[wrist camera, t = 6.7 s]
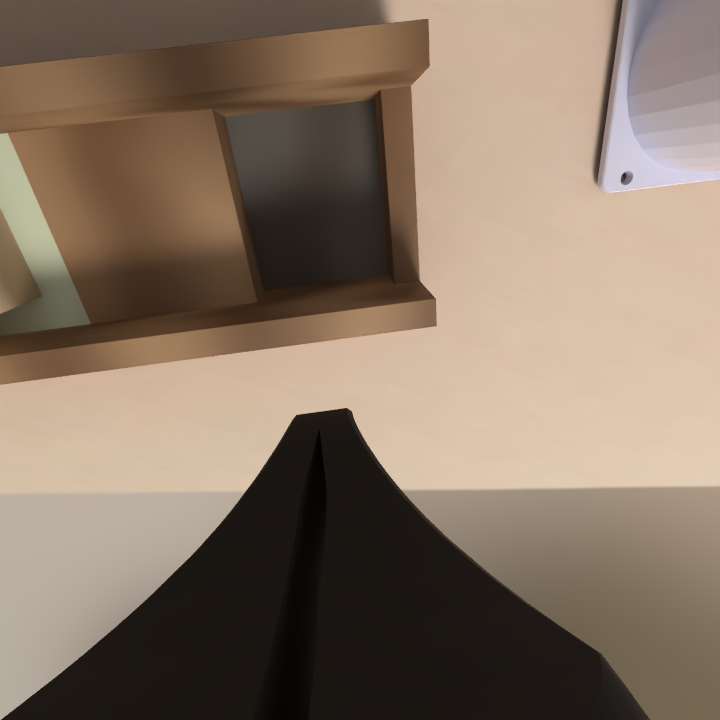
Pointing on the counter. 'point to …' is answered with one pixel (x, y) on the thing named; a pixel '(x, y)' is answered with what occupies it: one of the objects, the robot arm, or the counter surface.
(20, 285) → the birch block
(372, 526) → the robot arm
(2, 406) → the counter surface
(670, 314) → the counter surface
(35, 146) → the channel
